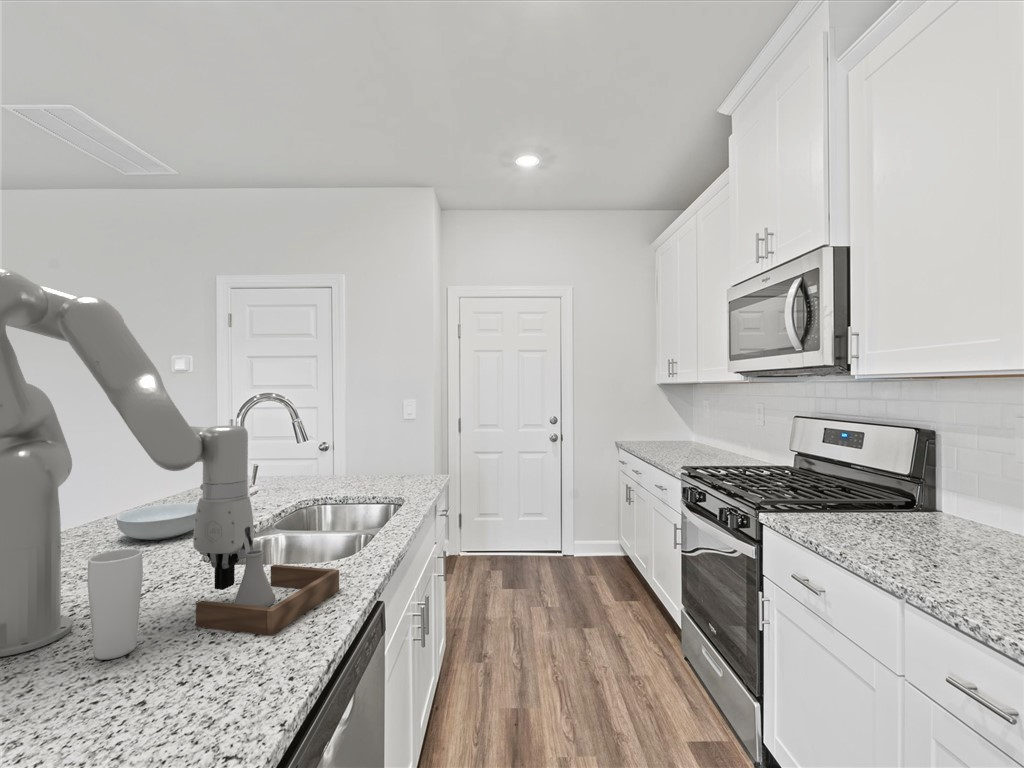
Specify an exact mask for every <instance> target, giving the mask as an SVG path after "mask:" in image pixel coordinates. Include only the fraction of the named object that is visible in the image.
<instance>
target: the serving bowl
mask: <svg viewBox="0 0 1024 768" xmlns="http://www.w3.org/2000/svg"><path fill="white" fill-rule="evenodd" d="M197 506H198V503H195V502H175V503H172V502H171V503H162V504H154V505H148V506H143V507H138V508H134V509H130V510H127V511H122V512H121V513H119V514H118V515H116V517H115V520H116V523H117V524H116V525H117V527H118V530H120V532H121V533H122V534H124V535H125V536H127V537H129V538H132V539H136V540H147V541H158V540H168V539H171V538H176V537H179V536H181V535H183V534H186V533H188V532H191V531H192V530H193V531H194V523H195V515H196V510H197Z"/></svg>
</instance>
